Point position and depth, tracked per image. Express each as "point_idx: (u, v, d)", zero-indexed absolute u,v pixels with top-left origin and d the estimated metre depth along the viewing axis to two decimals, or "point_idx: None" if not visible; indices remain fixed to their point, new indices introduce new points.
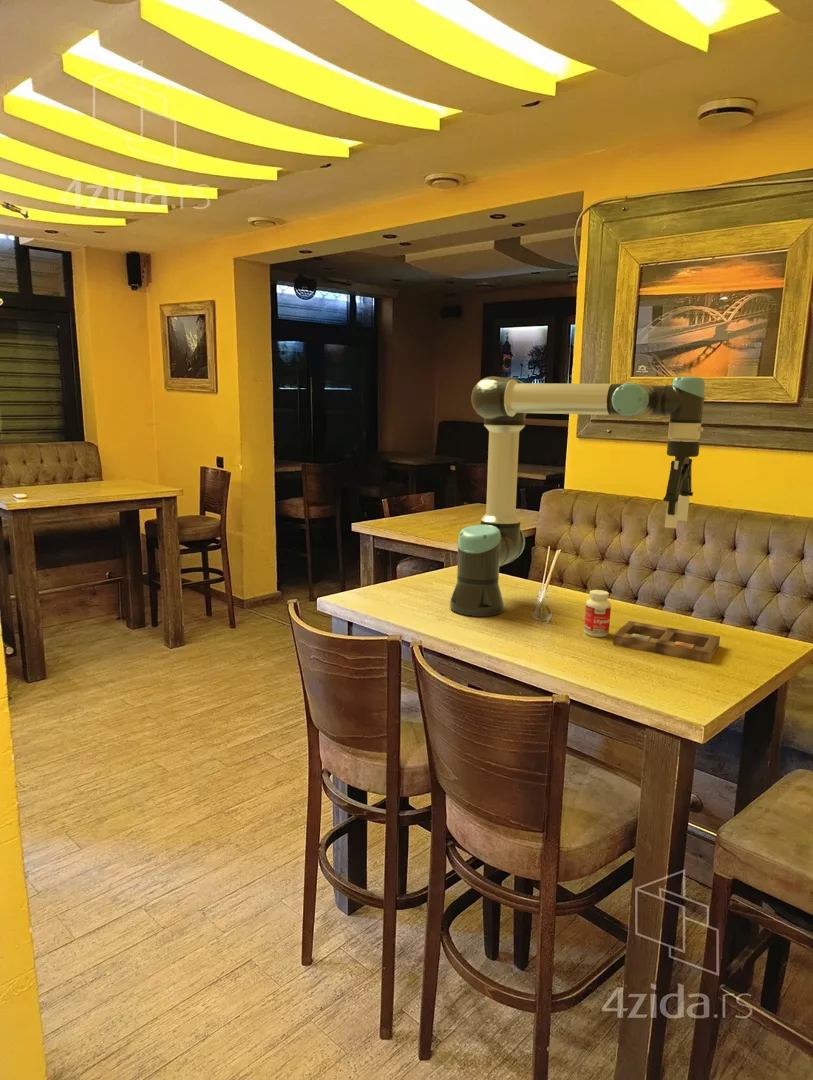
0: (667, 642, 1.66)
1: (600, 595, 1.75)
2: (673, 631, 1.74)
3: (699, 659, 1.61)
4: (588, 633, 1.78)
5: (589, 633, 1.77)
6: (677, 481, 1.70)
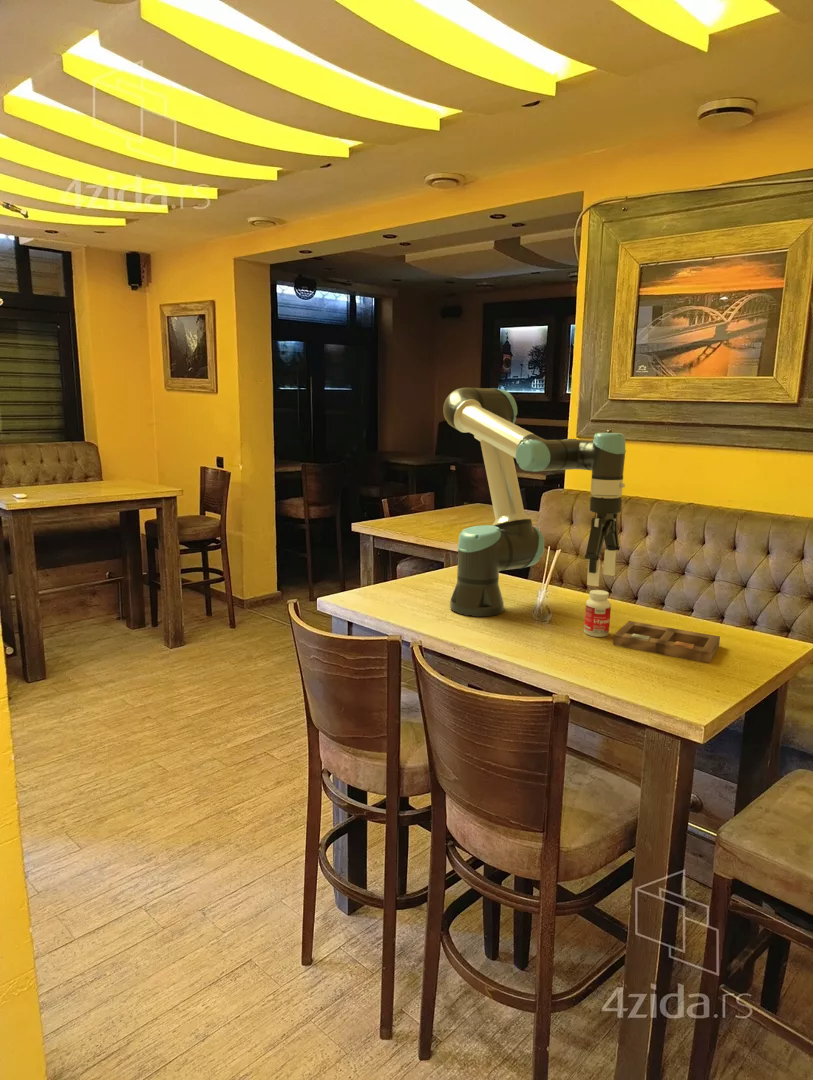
0: (667, 642, 1.66)
1: (600, 595, 1.75)
2: (673, 631, 1.74)
3: (699, 659, 1.61)
4: (588, 633, 1.78)
5: (589, 633, 1.77)
6: (597, 539, 1.67)
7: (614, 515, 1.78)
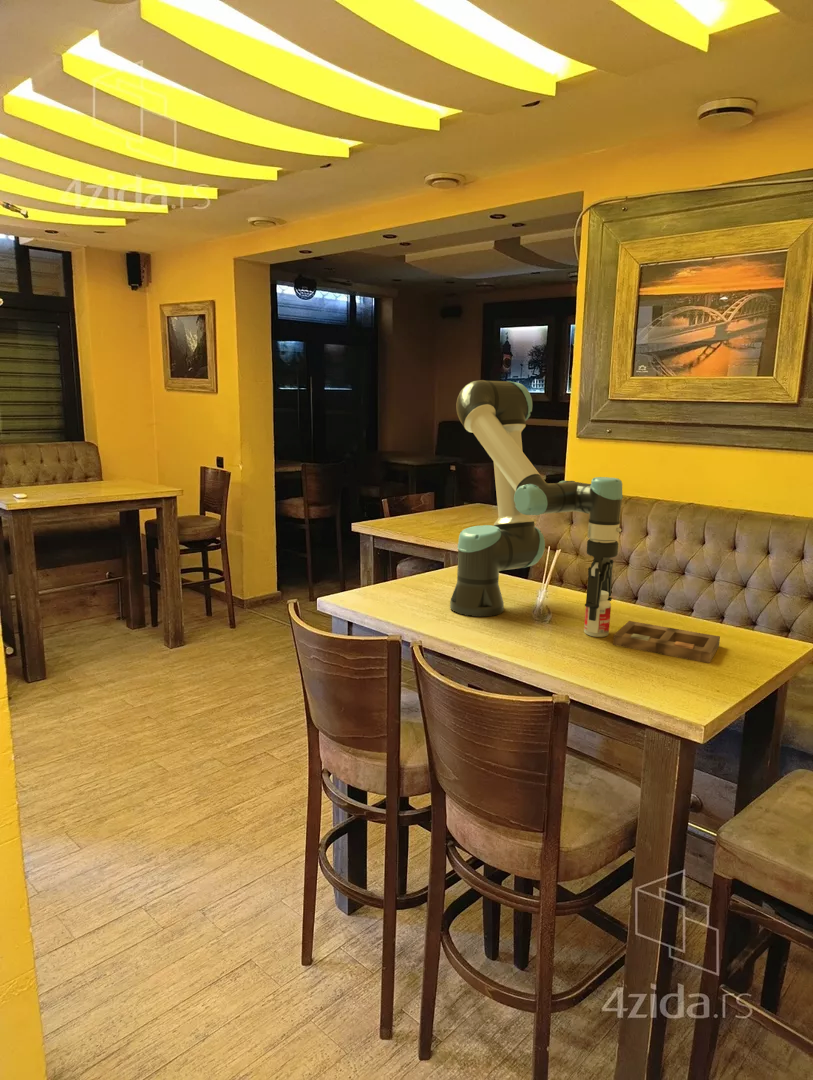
0: (667, 642, 1.66)
1: (600, 595, 1.75)
2: (673, 631, 1.74)
3: (699, 659, 1.61)
4: (588, 633, 1.78)
5: (589, 633, 1.77)
6: (595, 589, 1.71)
7: (610, 561, 1.80)
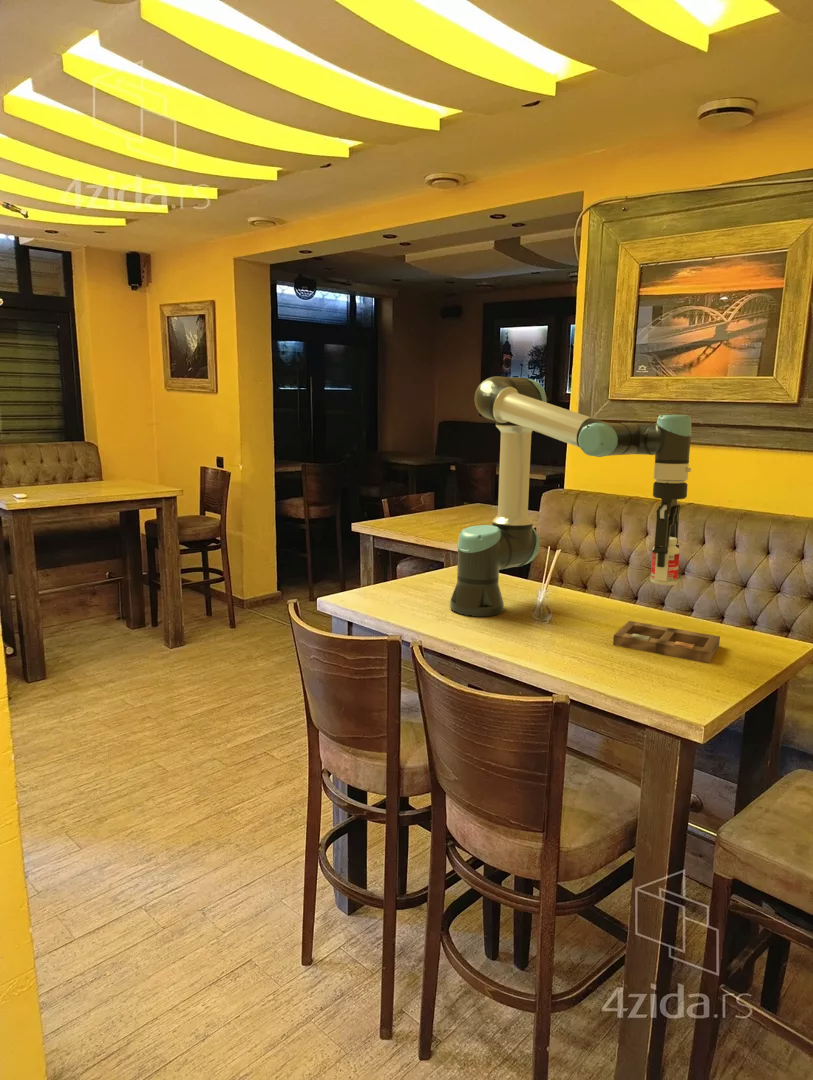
0: (667, 642, 1.66)
1: None
2: (673, 631, 1.74)
3: (699, 659, 1.61)
4: (656, 581, 1.67)
5: (657, 581, 1.67)
6: (665, 532, 1.61)
7: (677, 506, 1.70)
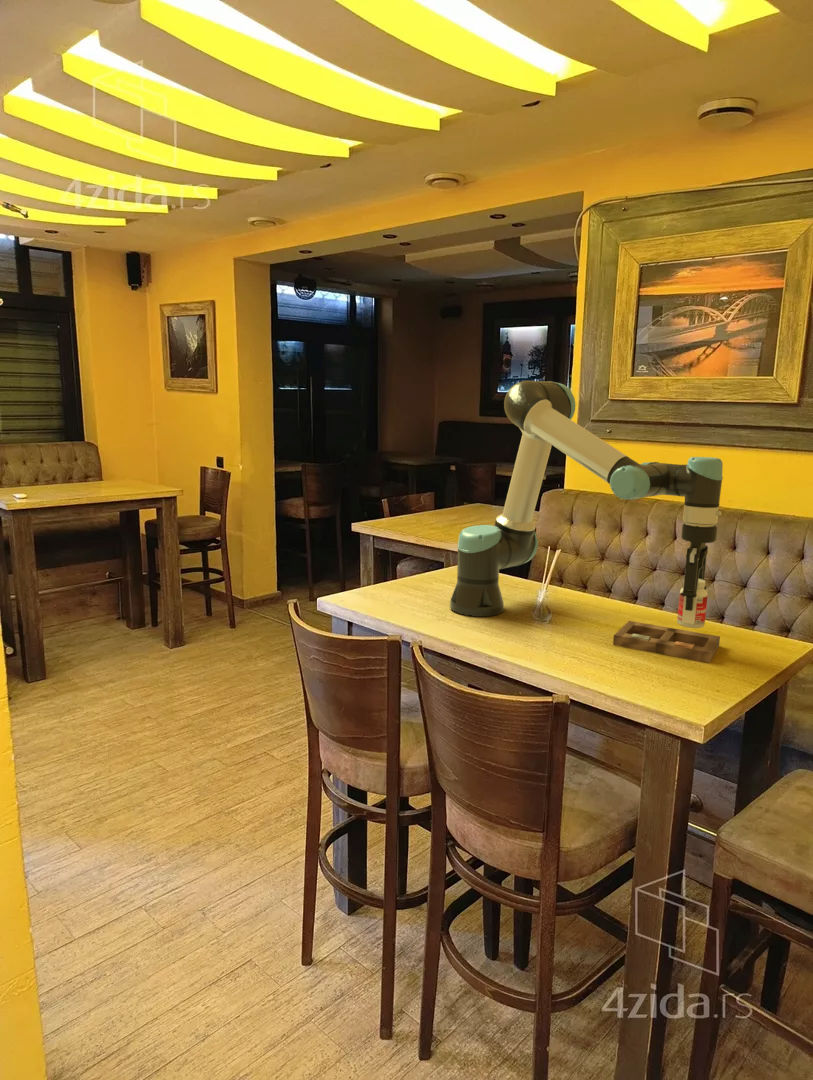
0: (667, 642, 1.66)
1: None
2: (673, 631, 1.74)
3: (699, 659, 1.61)
4: (683, 624, 1.66)
5: (684, 624, 1.66)
6: (694, 576, 1.59)
7: (705, 547, 1.69)
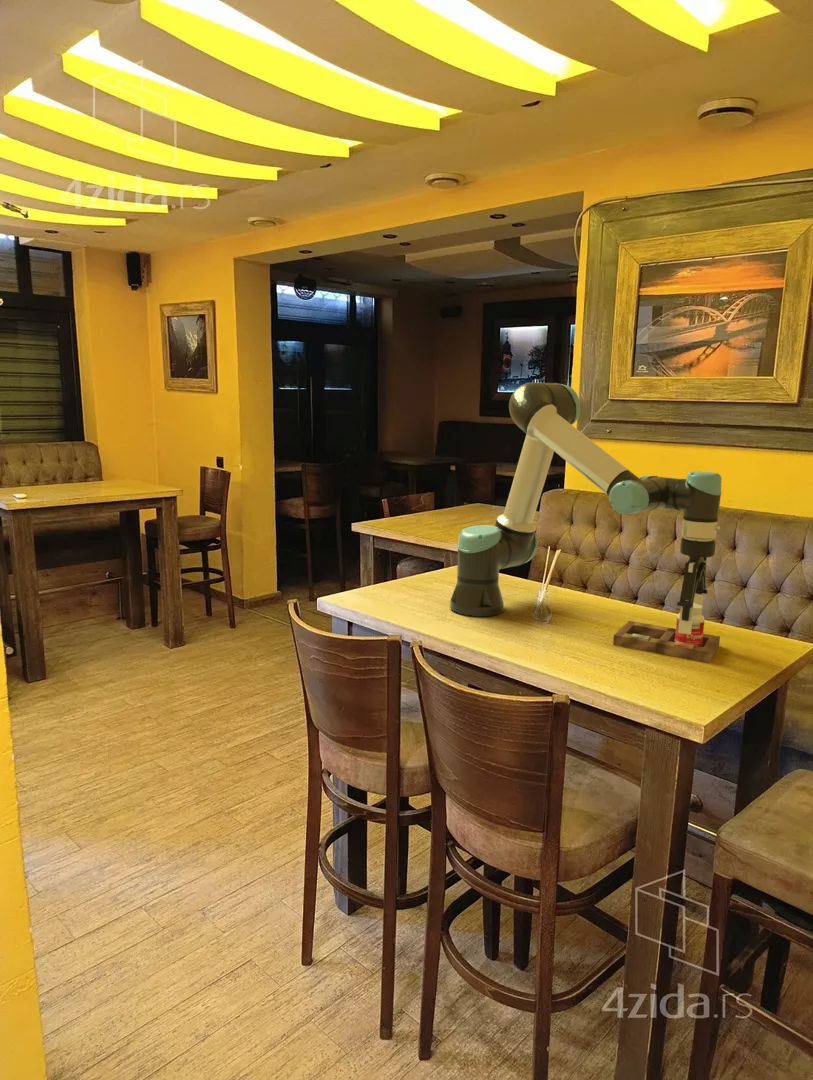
0: (667, 642, 1.66)
1: (694, 608, 1.65)
2: (673, 631, 1.74)
3: (699, 659, 1.61)
4: None
5: None
6: (692, 586, 1.58)
7: (704, 557, 1.69)
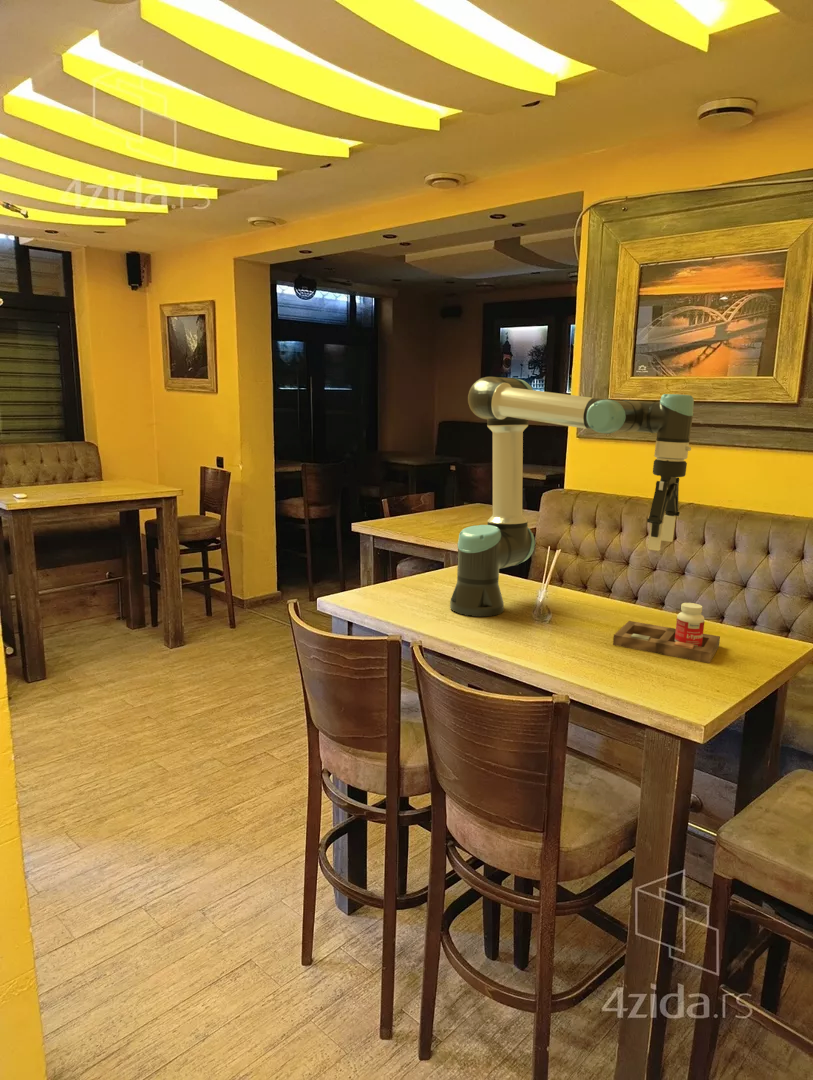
0: (667, 642, 1.66)
1: (694, 609, 1.65)
2: (673, 631, 1.74)
3: (699, 659, 1.61)
4: None
5: None
6: (661, 502, 1.64)
7: (676, 480, 1.75)
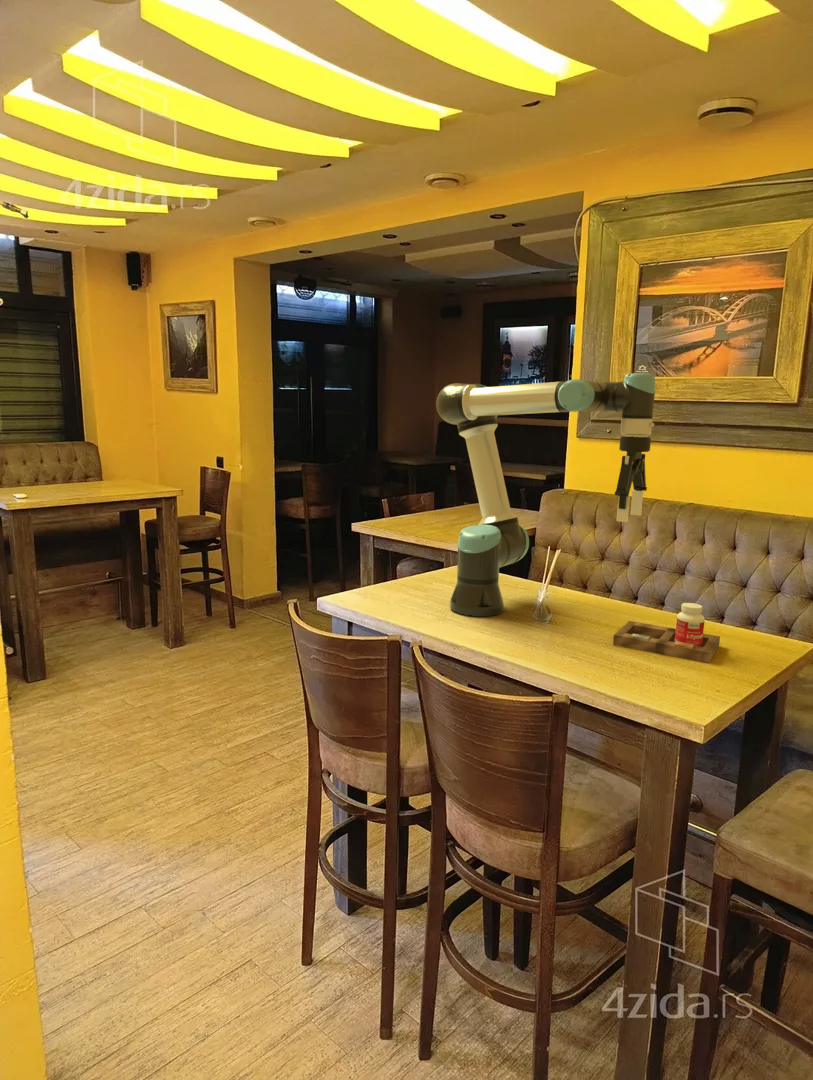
0: (667, 642, 1.66)
1: (694, 609, 1.65)
2: (673, 631, 1.74)
3: (699, 659, 1.61)
4: None
5: None
6: (627, 476, 1.73)
7: (642, 456, 1.84)
